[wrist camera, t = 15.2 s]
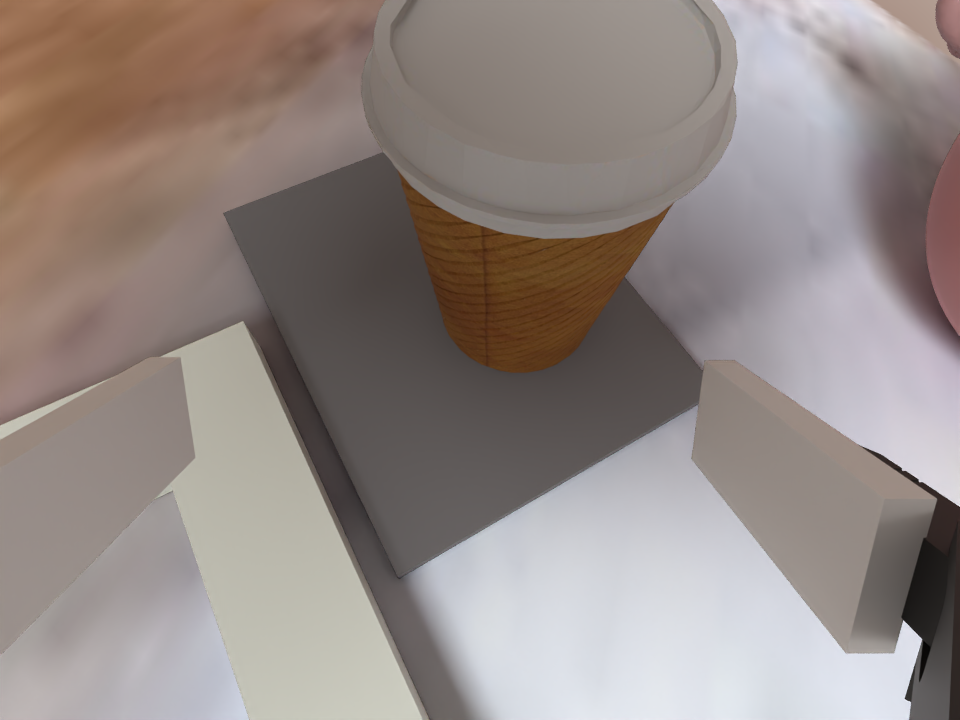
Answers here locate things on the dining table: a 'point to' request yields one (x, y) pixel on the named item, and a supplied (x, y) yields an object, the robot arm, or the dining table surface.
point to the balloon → (946, 196)
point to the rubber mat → (440, 368)
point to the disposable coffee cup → (544, 151)
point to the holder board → (274, 549)
